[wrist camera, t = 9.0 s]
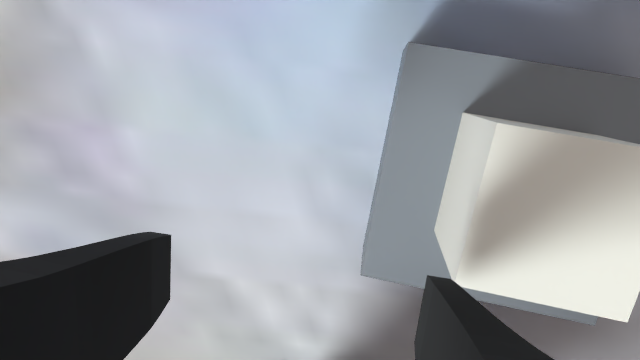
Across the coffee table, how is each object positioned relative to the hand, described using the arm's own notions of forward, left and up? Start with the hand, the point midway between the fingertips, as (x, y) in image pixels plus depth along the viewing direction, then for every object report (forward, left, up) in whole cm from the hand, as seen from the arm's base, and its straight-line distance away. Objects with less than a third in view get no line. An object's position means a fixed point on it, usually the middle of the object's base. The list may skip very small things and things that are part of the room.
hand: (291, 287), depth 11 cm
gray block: (+2, -7, -11) cm, 13 cm away
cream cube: (+2, -7, -7) cm, 10 cm away
